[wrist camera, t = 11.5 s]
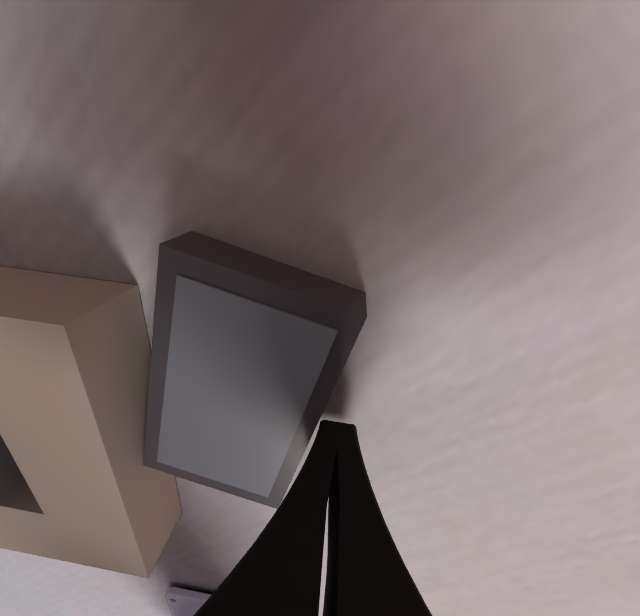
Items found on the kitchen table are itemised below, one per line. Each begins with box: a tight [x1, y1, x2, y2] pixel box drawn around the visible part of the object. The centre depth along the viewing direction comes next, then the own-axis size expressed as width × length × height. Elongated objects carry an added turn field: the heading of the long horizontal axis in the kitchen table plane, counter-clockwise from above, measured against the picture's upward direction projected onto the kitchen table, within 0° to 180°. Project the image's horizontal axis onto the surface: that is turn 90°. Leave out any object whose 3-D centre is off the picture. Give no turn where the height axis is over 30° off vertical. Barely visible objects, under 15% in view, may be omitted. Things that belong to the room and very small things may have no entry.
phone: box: [143, 231, 367, 509], centre depth 11 cm, size 10×6×2 cm, turn 162°
